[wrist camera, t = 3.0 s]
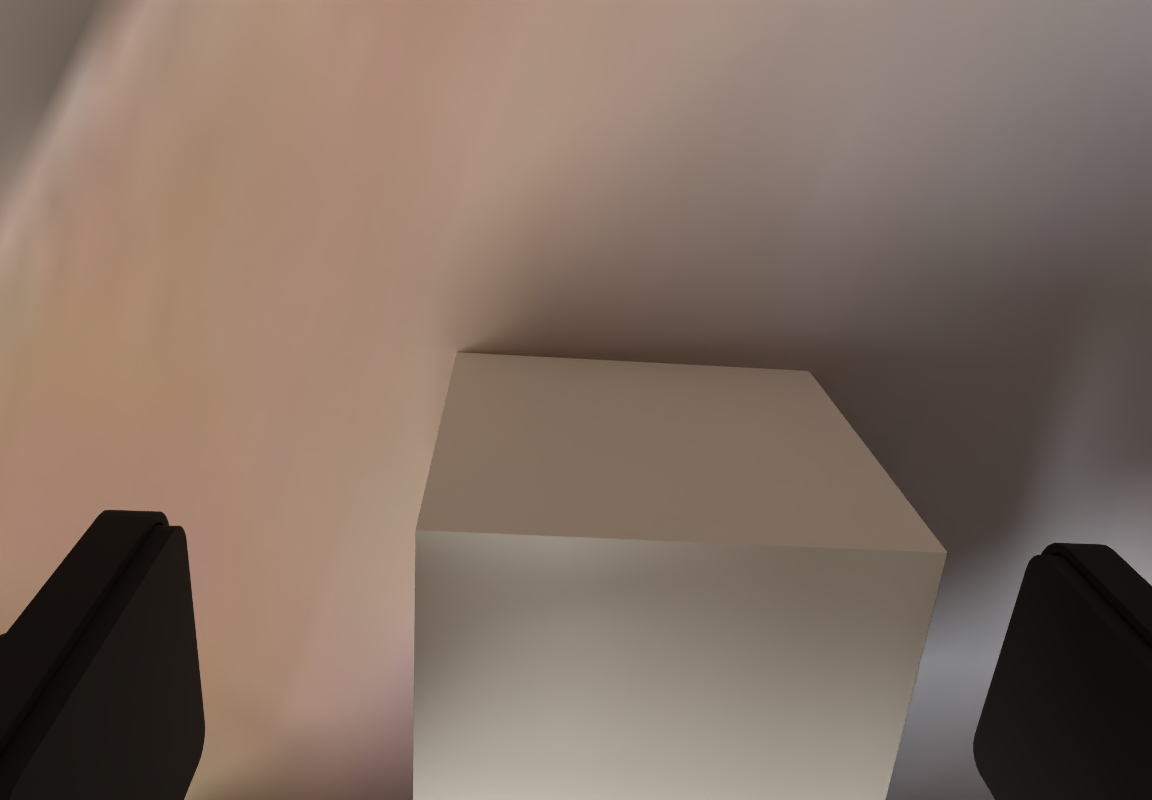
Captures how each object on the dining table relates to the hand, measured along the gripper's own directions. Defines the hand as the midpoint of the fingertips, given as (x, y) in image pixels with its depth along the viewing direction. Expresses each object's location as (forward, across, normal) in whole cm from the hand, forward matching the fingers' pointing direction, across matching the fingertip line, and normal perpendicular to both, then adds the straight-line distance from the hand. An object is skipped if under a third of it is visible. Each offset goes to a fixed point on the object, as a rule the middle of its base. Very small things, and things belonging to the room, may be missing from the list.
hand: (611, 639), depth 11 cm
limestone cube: (+4, 0, +1) cm, 4 cm away
